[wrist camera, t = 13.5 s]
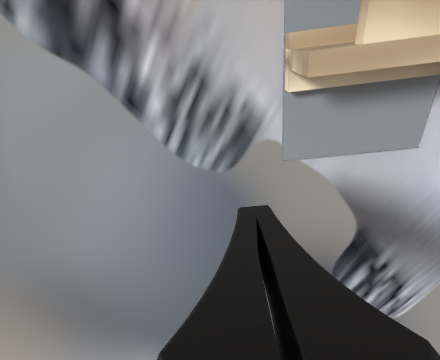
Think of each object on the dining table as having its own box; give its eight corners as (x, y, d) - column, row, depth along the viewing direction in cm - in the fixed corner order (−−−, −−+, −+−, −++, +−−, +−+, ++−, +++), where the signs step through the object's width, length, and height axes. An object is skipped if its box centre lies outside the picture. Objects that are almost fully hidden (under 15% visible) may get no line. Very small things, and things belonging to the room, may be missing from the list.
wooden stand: (444, 70, 16) (525, 80, 12) (284, 89, 17) (305, 105, 13) (481, -45, 14) (607, -87, 9) (286, -16, 14) (315, -42, 10)
